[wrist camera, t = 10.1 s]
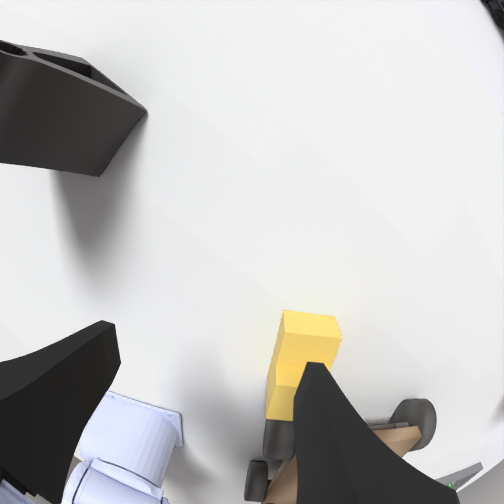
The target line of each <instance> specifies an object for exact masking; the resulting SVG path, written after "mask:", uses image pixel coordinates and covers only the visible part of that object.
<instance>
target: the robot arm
mask: <svg viewBox="0 0 504 504" xmlns="http://www.w3.org/2000/svg"><path fill="white" fill-rule="evenodd" d="M120 364H121V360H120V354H119V349H118V342H117V336H116V329H115V324H113V323H110V322H107V321H103V320H101V321H99V322H96V323H94V324H92V325H90V326H88V327H86V328H84V329H82V330H80V331H78V332H76V333H74V334H72V335H70V336H68V337H66V338H64V339H62V340H60V341H58V342H56V343H54V344H51V345H49V346H47V347H45V348H42V349H40V350H38V351H35V352H33V353H30V354H27V355H25V356H21V357H18V358H15V359H12V360H8V361H3V362H0V504H35V503H34V502H32V501H31V500H29V499H28V498H27V497H26V496H24V495H25V494H26V492H28V493H29V494H31V495H32V496H34V497H35V496H36V494H38V495H40V496H41V497H43V498H44V499H46V500H47V501H49V502H50V503H52V504H170V503H169V502H168V499H167V498H165V497H162V495H163V492H164V490H163V489H161V486H162V483H163V479H164V476H165V473H166V470H167V467H168V464H169V460H170V457H171V454H172V451H173V448H174V447H178V448H181V447H182V446H183V442H182V429H181V416H180V414H179V413H177V412H173V411H169V410H165V409H162V408H158V407H155V406H151V405H148V404H145V403H142V402H138V401H135V400H132V399H129V398H126V397H124V396H121V395H118V394H115V393H112V392H110V391H108V389H109V387H110V386H111V384H112V382H113V380H114V378H115V376H116V374H117V371H118V369H119V367H120ZM99 403H100V404H99ZM97 406H98V407H97ZM96 408H97V409H96ZM94 411H95V412H94ZM92 414H93V415H92ZM91 416H92V417H91ZM89 419H90V420H89ZM88 421H89V422H88ZM85 426H86V427H85ZM293 430H294V441H295V451H296V462H297V499H296V504H460V502H459V499H458V496H457V493H456V490H454V489H452V488H450V487H448V486H446V485H444V484H442V483H440V482H437V481H435V480H433V479H432V478H430V477H428V476H427V475H425V474H423V473H422V472H420V471H419V470H417V469H416V468H414V467H413V466H411V465H410V464H409V463H407V462H406V461H405V460H404V459H402V458H401V457H400V456H399V455H397V454H396V453H395V452H394V451H393V450H391V449H390V448H389V447H388V446H387V445H386V444H385V443H384V442H383V441H382V440H381V439H380V438H379V437H378V436H377V435H376V434H375V433H374V432H373V431H372V430H371V429H370V428H369V426H368V425H367V424H366V423H365V422H364V420H363V419H362V418H361V417H360V415H359V414H358V413H357V412H356V410H355V409H354V408H353V406H352V405H351V403H350V402H349V401H348V399H347V398H346V396H345V395H344V393H343V392H342V391H341V389H340V388H339V386H338V384H337V383H336V381H335V380H334V378H333V377H332V375H331V374H330V372H329V370H328V369H327V367H326V366H325V364H324V363H319V362H308V361H307V363H306V366H305V369H304V372H303V374H302V377H301V380H300V382H299V385H298V388H297V390H296V393H295V396H294V399H293ZM82 432H83V433H82ZM81 435H82V436H81ZM80 437H81V439H80ZM79 439H80V453H81V456H82V458H83V459H84V460H85V461H84V462H80V463H78V465H77V466H76V467H75V469H74V470H73V472H72V474H71V476H70V478H69V480H68V482H67V485H66V488H65V490H64V486H65V481H66V477H67V474H68V470H69V467H70V464H71V461H72V458H73V455H74V452H75V449H76V447H77V444H78V442H79ZM63 491H64V494H63ZM62 497H63V499H62Z"/></svg>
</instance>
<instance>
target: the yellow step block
mask: <svg viewBox="0 0 504 504" xmlns="http://www.w3.org/2000/svg"><path fill="white" fill-rule="evenodd" d="M341 340H342V336H341V333H340V330H339V327H338V325H337V322H336V319H335V316H327V315H318V314H310V313H303V312H295V311H288V310H283V314H282V318H281V323H280V327H279V331H278V335H277V339H276V344H275V348H274V352H273V356H272V360H271V364H270V367H269V371H268V375H267V394H266V416H265V419H274V420H286V421H293V399H294V396H295V393H296V390H297V388H298V385H299V382H300V380H301V377H302V374H303V372H304V369H305V366H306V363H307V361H308V362H319V363H324V364H325V366H326V367H327V369H328V370H329V372H330V368H331V366H332V363H333V361H334V358H335V356H336V353H337V351H338V348H339V346H340V343H341Z"/></svg>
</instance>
